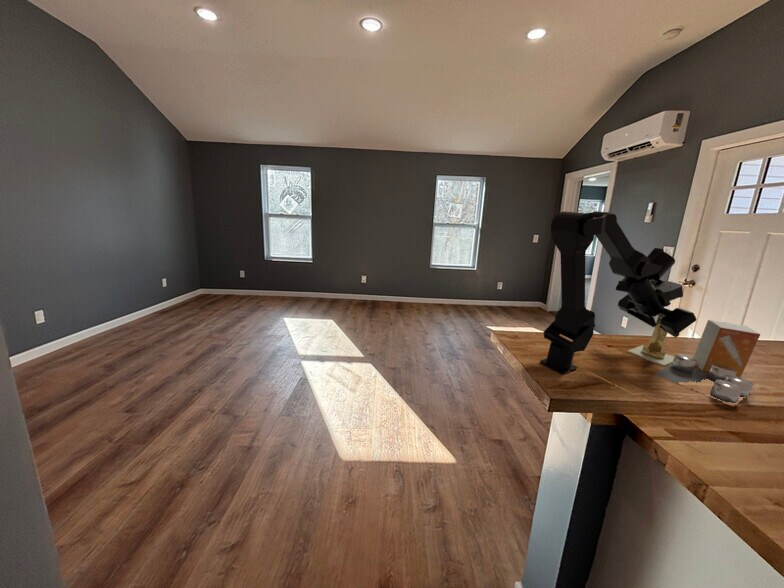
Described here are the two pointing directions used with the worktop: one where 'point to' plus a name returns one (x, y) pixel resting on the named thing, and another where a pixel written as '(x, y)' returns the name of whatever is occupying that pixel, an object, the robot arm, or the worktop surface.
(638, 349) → the coaster
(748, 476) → the worktop surface
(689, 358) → the spacers
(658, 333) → the brass pin
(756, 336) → the small box
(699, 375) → the mat
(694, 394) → the worktop surface
